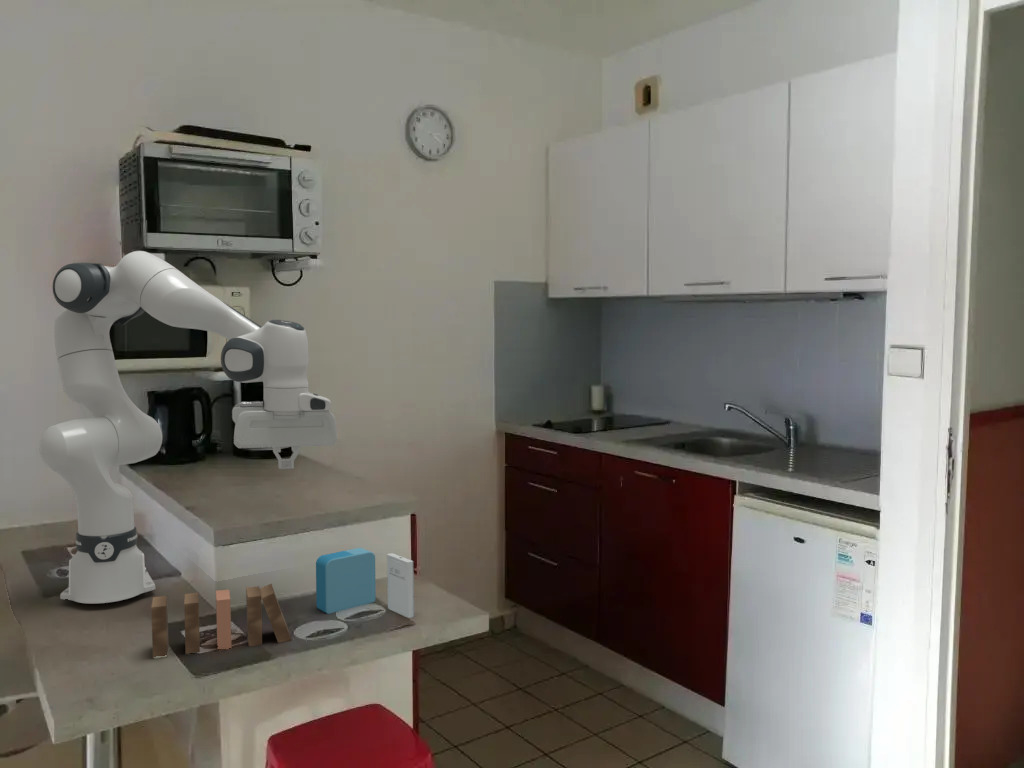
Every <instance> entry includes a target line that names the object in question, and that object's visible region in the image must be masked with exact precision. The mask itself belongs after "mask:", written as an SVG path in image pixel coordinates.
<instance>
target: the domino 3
mask: <svg viewBox="0 0 1024 768" xmlns="http://www.w3.org/2000/svg"><path fill="white" fill-rule="evenodd" d="M215 608H216V609H215V611H216V612H215V613H216V614H215V615H216V618H215V619H216V644H217V645H216V646H218V647H217V650H218V649H226V650H230V649H229V648H231V649H232V615H231V614H232V613H231V612H232V611H231V609H232V608H231V594H230V589H229V588H228V589H221V590H220V589H219V590H218V589H217V590H215Z"/></svg>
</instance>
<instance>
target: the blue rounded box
mask: <svg viewBox="0 0 1024 768" xmlns="http://www.w3.org/2000/svg"><path fill="white" fill-rule="evenodd" d="M315 585H316V586H315V591H316V593H315V595H316V601H315V602H316V608H317V609H318V610H320V611H321V612H323V613H325V614H327V615H329V614H335V613H337V612H341V611H345V610H349V609H353V608H357V607H360V606H361V607H362V606H364V605H368V604H373V603H375V602H376V596H377V595H376V590H377V589H376V555H375V554H374V552H372V551H370V550H367V549H365V548H362V547H357V548H352V549H347V550H346V549H345V550H342V551H337V552H333V553H326V554H322V555H320V556H319V557H317V559H316V562H315Z"/></svg>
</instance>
